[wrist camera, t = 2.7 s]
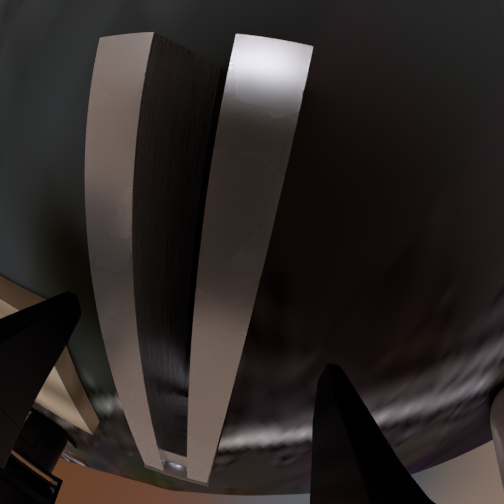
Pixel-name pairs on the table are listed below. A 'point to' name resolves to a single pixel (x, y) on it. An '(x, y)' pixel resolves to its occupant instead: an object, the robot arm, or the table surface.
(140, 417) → the tongs
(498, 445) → the donut
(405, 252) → the table surface
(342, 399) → the robot arm
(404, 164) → the table surface
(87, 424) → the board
